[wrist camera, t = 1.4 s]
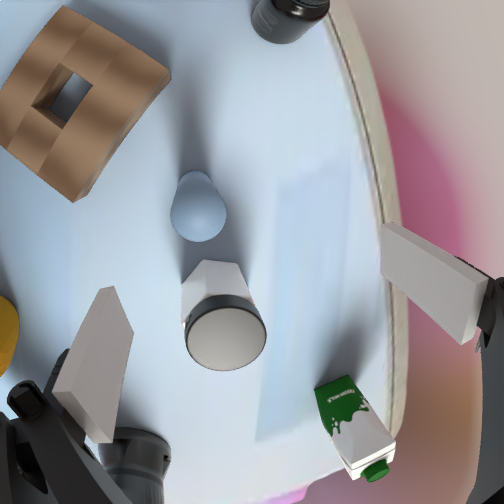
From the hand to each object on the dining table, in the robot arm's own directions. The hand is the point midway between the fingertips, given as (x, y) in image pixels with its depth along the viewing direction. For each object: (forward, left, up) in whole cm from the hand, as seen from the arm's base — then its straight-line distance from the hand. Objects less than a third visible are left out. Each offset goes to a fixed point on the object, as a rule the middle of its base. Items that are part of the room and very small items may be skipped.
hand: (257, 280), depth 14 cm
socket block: (-1, +21, -24) cm, 32 cm away
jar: (-10, -8, -24) cm, 27 cm away
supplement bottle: (+22, +8, -24) cm, 34 cm away
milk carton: (-16, -40, -24) cm, 49 cm away
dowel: (-1, +2, -24) cm, 24 cm away
